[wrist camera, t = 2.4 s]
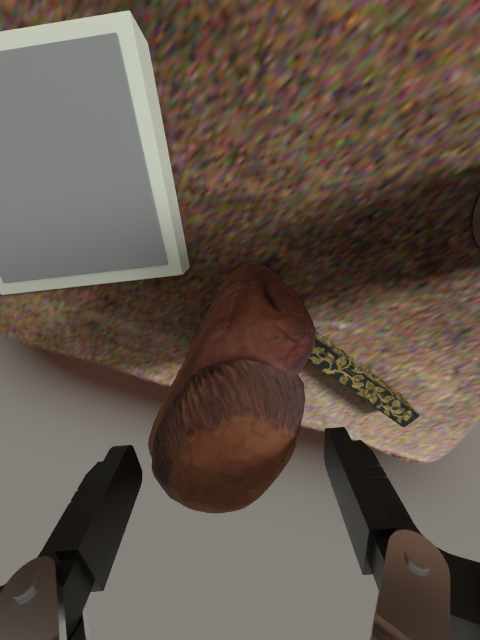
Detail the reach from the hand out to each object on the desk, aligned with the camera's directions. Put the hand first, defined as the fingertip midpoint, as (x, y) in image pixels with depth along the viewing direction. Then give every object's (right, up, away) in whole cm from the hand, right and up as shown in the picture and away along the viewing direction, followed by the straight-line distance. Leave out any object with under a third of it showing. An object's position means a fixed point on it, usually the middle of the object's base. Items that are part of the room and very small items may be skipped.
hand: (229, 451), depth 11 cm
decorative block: (+13, 0, +18) cm, 23 cm away
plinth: (-13, +17, +11) cm, 24 cm away
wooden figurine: (0, +6, +16) cm, 17 cm away
